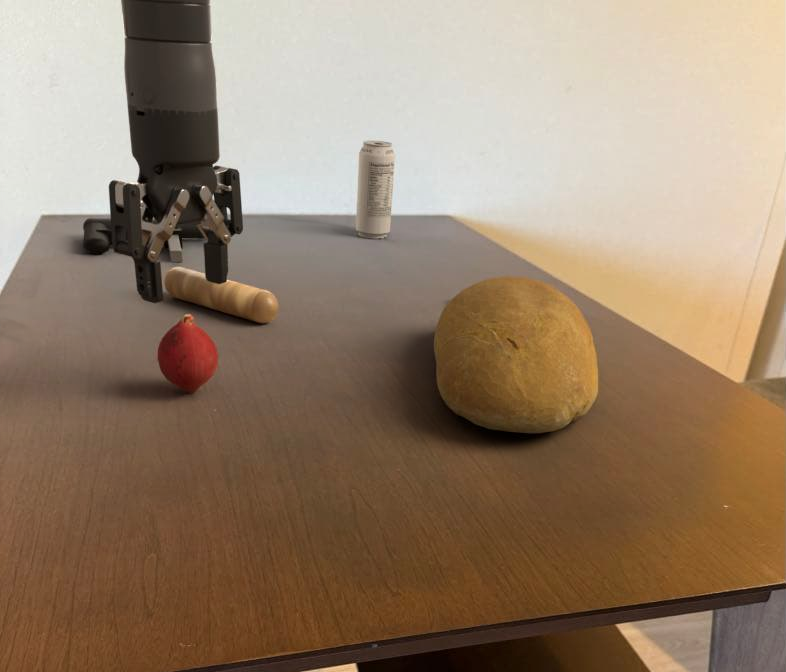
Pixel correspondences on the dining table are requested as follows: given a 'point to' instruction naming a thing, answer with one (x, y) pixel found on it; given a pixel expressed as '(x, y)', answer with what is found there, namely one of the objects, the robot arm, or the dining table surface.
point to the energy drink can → (375, 189)
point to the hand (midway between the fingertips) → (185, 291)
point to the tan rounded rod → (222, 295)
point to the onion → (187, 355)
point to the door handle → (101, 237)
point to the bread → (515, 356)
